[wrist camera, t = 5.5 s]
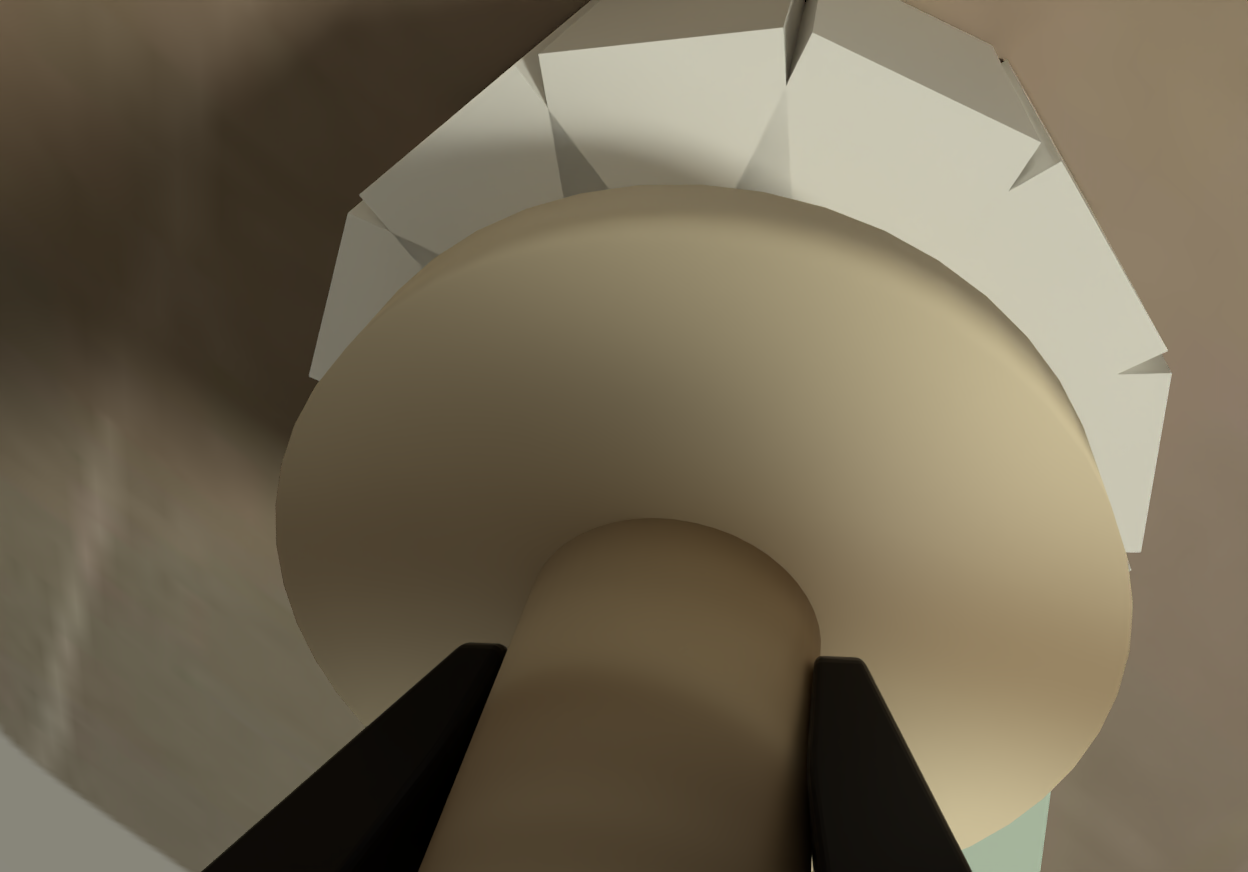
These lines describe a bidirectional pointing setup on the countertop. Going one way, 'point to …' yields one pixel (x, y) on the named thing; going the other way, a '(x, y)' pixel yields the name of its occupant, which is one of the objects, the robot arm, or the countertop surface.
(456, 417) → the lid
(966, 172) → the white faceted ring
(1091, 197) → the countertop surface
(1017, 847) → the mat
